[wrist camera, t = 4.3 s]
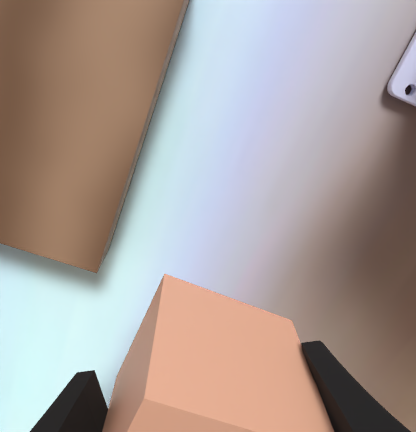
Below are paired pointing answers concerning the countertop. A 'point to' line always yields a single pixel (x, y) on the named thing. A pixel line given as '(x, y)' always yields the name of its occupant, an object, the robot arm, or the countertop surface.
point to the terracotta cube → (213, 369)
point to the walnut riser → (76, 117)
